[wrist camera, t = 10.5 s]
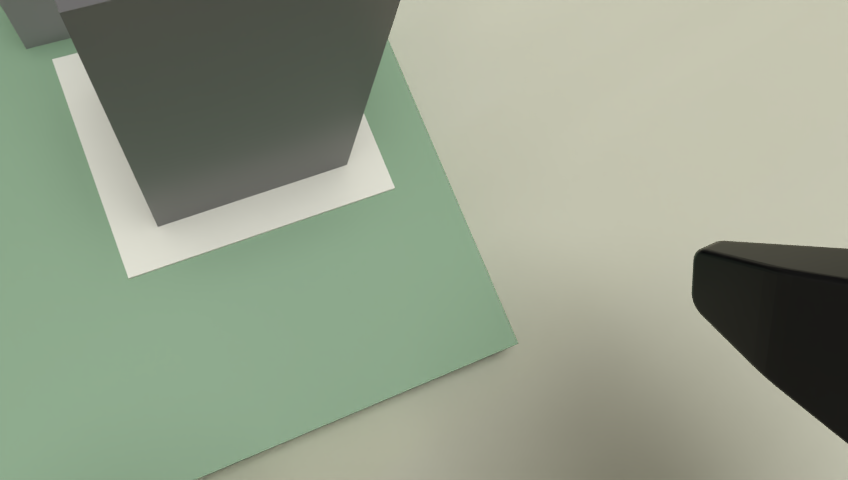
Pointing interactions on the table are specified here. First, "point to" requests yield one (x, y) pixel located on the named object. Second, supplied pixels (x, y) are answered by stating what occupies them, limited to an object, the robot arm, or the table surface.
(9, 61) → the board
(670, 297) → the table surface
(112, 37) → the grey square pillar
